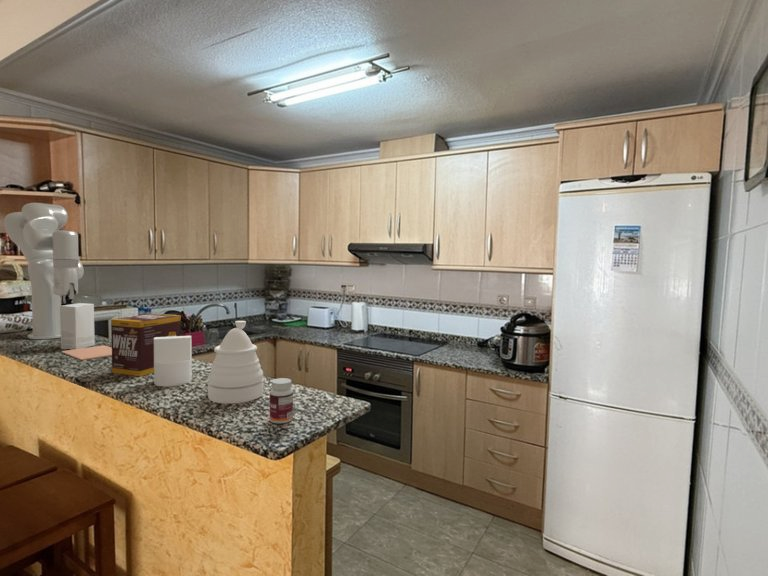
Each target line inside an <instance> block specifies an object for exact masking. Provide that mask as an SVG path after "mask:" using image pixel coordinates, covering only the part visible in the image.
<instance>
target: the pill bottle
mask: <svg viewBox="0 0 768 576" xmlns="http://www.w3.org/2000/svg"><path fill="white" fill-rule="evenodd" d="M293 412H294V390H293V388H292V379H290V378H288V377H287V378H286V377H279V378H278V377H277V378H275V379H272V380H271V389H270V391H269V421H270V422H271V423H273V424H288V423H289V422H291V421H292V420H293V418H294V416H293V415H294V413H293Z"/></svg>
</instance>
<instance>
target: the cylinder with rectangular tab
mask: <svg viewBox="0 0 768 576" xmlns="http://www.w3.org/2000/svg"><path fill="white" fill-rule="evenodd" d="M192 368H193V367H192V335H181V336H172V337H155V338H154V373H153V383H154V385H155V386H157V387H175V386H176V387H177V386H181V385H185V384H188V383H190V382H191V381H192Z"/></svg>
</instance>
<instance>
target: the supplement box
mask: <svg viewBox="0 0 768 576" xmlns="http://www.w3.org/2000/svg"><path fill="white" fill-rule="evenodd" d="M181 320H182V317H181V315H179V314H169V313H167V314H166V313H155V312H154V313H147V314H140V315H133V316H126V317H118V318H111V319H110V321H111V323H110V324H111V325H110V329H111V337H110V338H111V348H112V356H111V373H112V374H118V375H126V376H133V377H143V376H146V375H150V374H154V338H155V337H172V336H182V334H181V333H182V332H181V329H182V328H181V327H182V326H181V325H182V324H181Z"/></svg>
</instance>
